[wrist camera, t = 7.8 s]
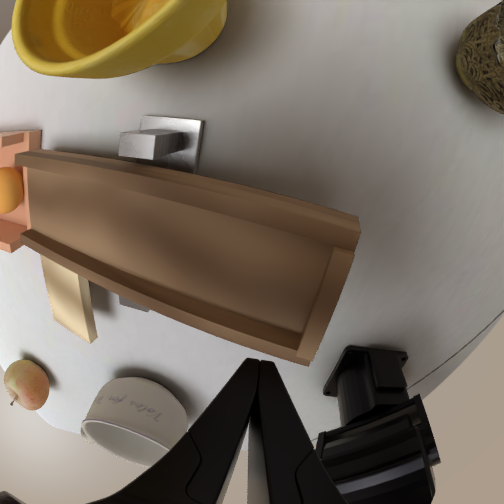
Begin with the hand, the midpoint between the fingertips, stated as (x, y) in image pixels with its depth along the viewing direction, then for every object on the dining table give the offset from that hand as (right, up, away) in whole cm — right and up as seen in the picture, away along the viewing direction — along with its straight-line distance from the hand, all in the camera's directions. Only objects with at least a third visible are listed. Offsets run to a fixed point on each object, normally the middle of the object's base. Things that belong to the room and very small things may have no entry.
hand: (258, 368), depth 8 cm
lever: (-7, +2, +9) cm, 12 cm away
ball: (-21, +9, +9) cm, 24 cm away
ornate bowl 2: (+15, +16, +4) cm, 23 cm away
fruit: (-32, -14, +23) cm, 42 cm away
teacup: (-13, -13, +21) cm, 28 cm away
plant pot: (-5, +19, +5) cm, 20 cm away
